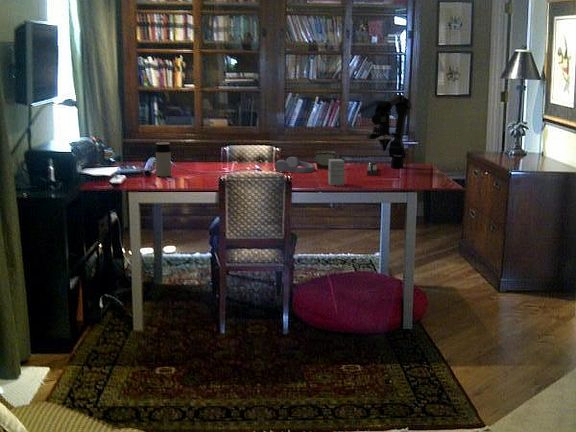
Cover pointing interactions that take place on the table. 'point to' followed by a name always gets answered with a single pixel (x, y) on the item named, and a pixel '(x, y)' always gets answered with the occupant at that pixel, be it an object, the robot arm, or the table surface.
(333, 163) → the supplement box
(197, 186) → the table surface
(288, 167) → the headphones
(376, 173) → the tongs arm
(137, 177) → the table surface
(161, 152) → the travel mug
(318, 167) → the food container
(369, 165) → the tongs base
